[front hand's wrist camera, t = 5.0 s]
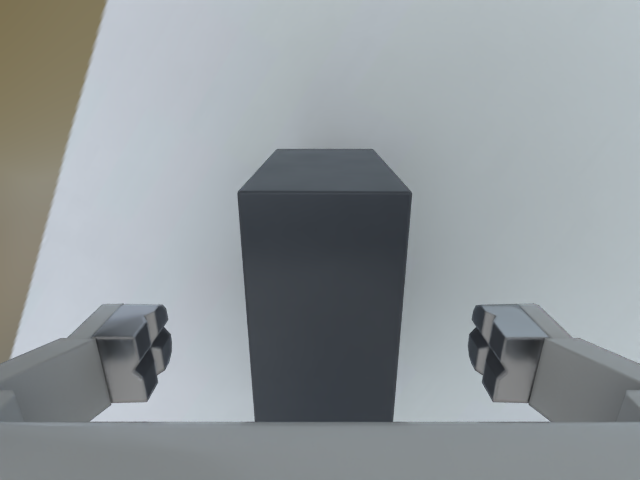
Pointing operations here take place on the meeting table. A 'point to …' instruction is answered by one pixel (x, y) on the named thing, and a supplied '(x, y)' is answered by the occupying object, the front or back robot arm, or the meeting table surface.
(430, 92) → the meeting table surface
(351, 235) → the bar
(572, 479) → the front robot arm
